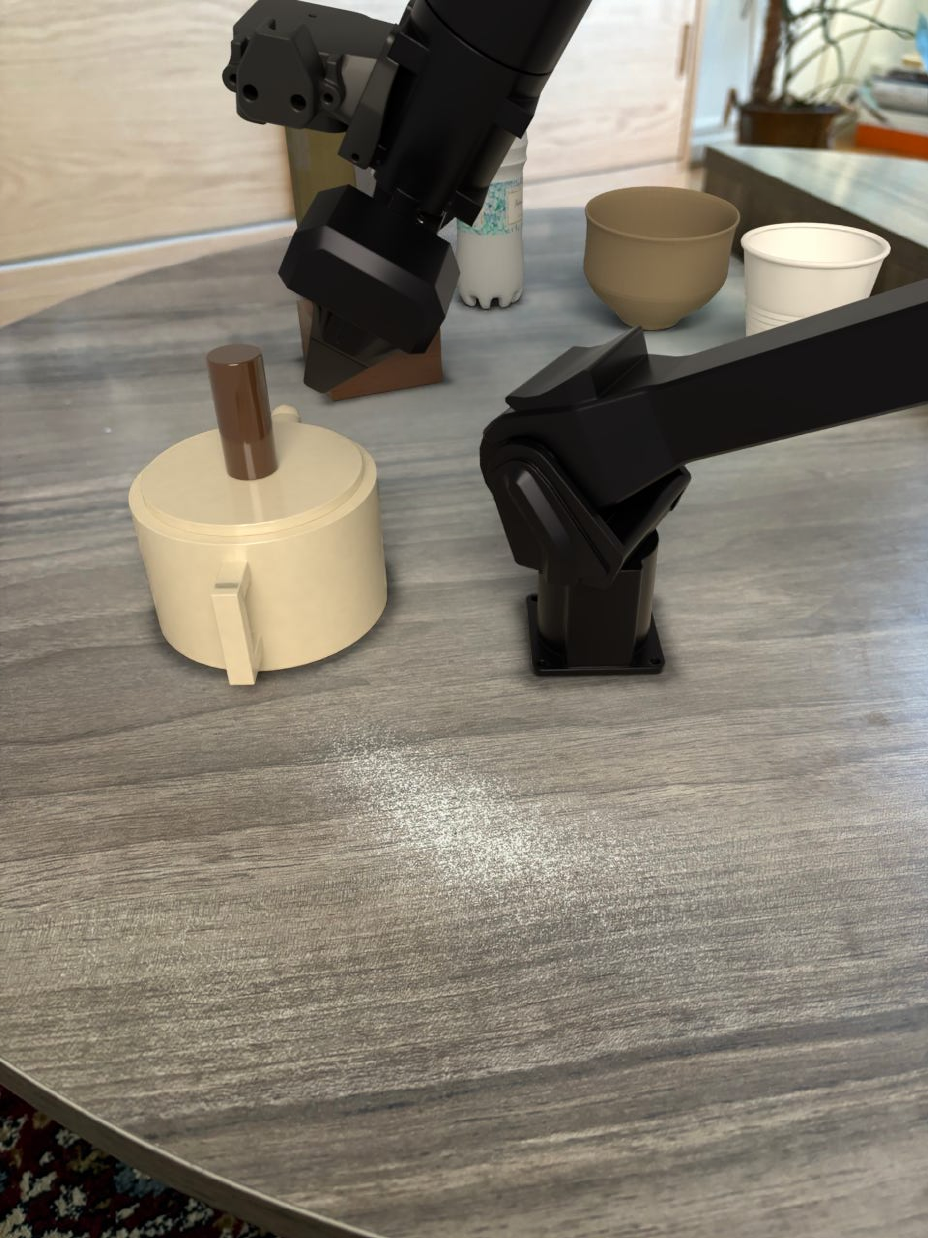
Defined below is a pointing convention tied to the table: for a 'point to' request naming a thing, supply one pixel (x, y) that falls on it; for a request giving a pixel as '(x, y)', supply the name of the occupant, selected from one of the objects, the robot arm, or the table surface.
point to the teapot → (268, 583)
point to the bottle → (495, 238)
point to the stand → (381, 365)
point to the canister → (320, 167)
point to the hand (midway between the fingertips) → (339, 333)
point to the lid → (249, 461)
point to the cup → (806, 270)
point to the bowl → (657, 252)
